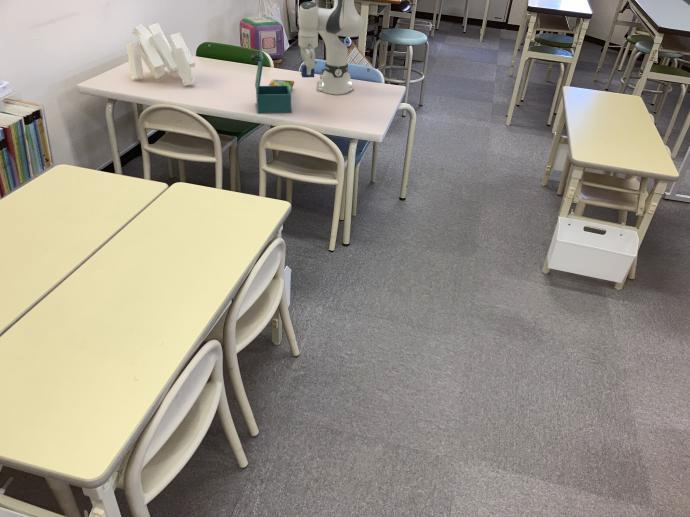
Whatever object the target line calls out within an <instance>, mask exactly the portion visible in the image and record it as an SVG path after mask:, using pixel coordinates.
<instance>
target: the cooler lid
mask: <svg viewBox="0 0 690 517" xmlns="http://www.w3.org/2000/svg"><path fill="white" fill-rule="evenodd" d="M250 58H251V61H252V62H256V61H257V68H256V77H255V82H254V86H255V94H256V93H257V94H259V87H260V86H261V80H262V74H263V67H264V62H265V61H264V60H265V59H264V54H263V51H262V50H259V56H258V55H255V54H254V53H252V54H250Z"/></svg>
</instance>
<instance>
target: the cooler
mask: <svg viewBox="0 0 690 517" xmlns="http://www.w3.org/2000/svg"><path fill="white" fill-rule="evenodd" d="M255 96H256V97H255V98H256V107H257V113H258V114H280V113H282V114H283V113H284V114H285V113H292V94H291V92H290V90H289V87H288V86H269V85H260V87H259V94H257V93H256V92H255Z"/></svg>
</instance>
